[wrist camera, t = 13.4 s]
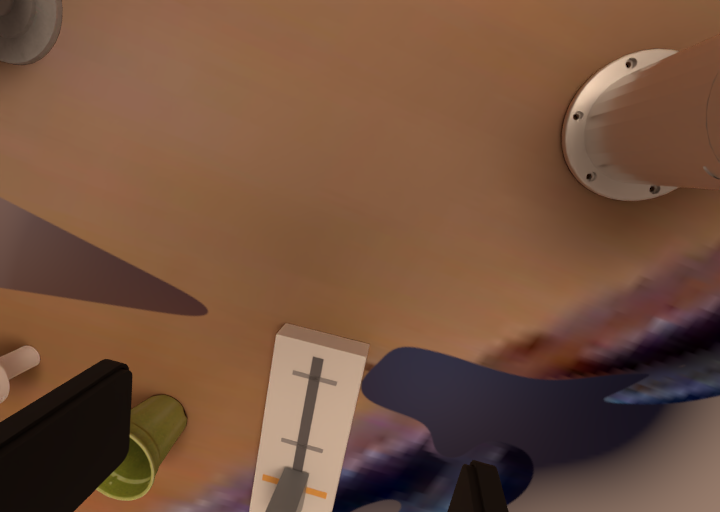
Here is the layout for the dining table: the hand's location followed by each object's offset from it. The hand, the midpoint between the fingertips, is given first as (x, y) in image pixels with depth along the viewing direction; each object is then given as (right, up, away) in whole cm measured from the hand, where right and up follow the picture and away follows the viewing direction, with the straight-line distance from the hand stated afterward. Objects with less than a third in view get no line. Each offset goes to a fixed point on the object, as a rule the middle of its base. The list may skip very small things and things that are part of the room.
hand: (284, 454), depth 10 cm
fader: (-6, -22, +34) cm, 41 cm away
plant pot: (-23, -15, +39) cm, 48 cm away
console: (-4, -16, +36) cm, 39 cm away
